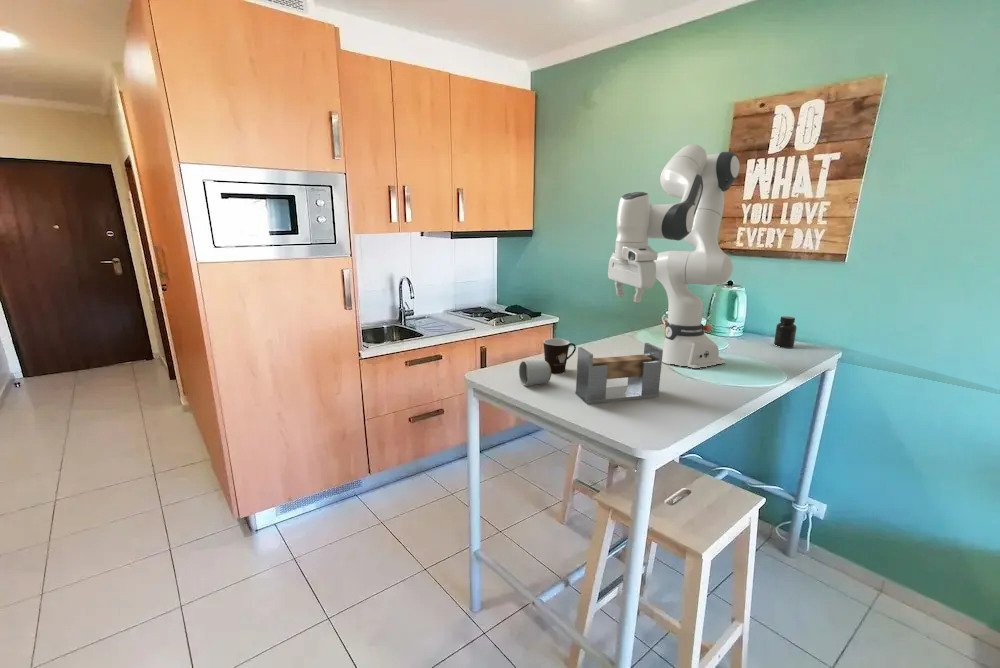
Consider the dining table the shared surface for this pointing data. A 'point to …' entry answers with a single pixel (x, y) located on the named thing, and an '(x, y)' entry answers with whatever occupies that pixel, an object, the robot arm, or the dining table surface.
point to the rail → (622, 365)
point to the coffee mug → (557, 354)
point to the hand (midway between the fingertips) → (628, 299)
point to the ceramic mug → (534, 372)
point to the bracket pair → (595, 389)
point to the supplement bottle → (785, 332)
